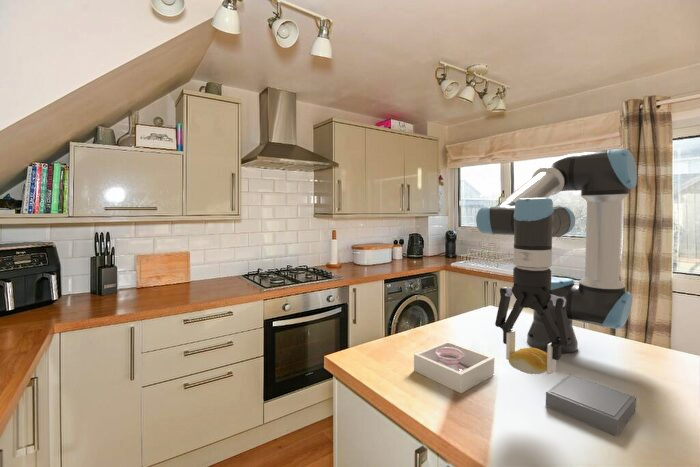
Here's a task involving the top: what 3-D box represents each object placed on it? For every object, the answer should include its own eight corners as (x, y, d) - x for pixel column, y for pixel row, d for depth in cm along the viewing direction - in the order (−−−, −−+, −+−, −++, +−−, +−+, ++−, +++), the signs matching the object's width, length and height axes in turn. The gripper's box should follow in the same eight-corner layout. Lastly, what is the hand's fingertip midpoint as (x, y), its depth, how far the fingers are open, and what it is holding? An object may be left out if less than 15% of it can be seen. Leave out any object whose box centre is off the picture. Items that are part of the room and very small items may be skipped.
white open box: (413, 370, 101) (413, 354, 100) (447, 356, 111) (447, 340, 110) (460, 393, 88) (461, 374, 88) (493, 374, 98) (494, 357, 98)
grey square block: (545, 406, 82) (546, 391, 82) (568, 387, 91) (569, 373, 91) (617, 436, 71) (617, 419, 71) (635, 411, 80) (636, 396, 79)
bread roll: (558, 367, 77) (559, 350, 77) (537, 379, 72) (537, 361, 72) (523, 354, 84) (523, 339, 84) (501, 364, 79) (501, 348, 79)
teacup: (464, 387, 91) (464, 365, 91) (421, 376, 98) (421, 355, 97) (474, 369, 101) (475, 349, 101) (435, 360, 108) (435, 341, 107)
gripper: (479, 263, 82) (478, 354, 84) (579, 276, 66) (576, 389, 68) (495, 259, 87) (494, 345, 89) (593, 271, 70) (589, 377, 72)
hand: (530, 364), depth 78 cm, fingers closed on bread roll, 8 cm apart
